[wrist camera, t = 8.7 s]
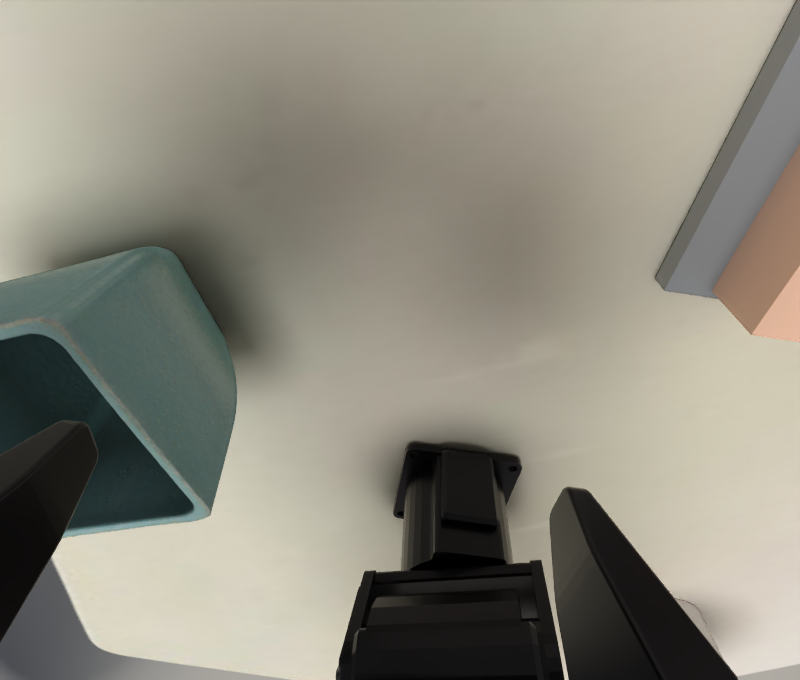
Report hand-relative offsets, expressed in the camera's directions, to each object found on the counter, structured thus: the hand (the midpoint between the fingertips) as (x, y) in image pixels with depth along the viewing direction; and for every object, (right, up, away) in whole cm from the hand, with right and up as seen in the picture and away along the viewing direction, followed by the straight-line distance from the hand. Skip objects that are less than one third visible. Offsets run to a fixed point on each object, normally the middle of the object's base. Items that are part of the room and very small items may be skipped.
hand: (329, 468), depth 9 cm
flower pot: (-10, +4, +13) cm, 17 cm away
